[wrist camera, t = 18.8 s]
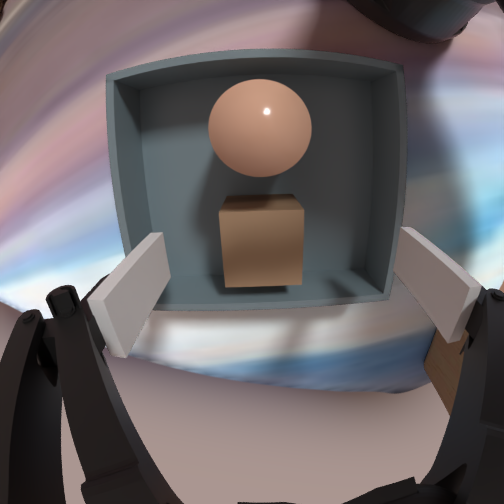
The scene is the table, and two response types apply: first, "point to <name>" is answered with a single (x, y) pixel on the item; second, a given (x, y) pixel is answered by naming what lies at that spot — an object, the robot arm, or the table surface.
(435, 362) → the wooden block
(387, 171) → the tote
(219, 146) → the peach colored egg
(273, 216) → the walnut cube
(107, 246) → the table surface
